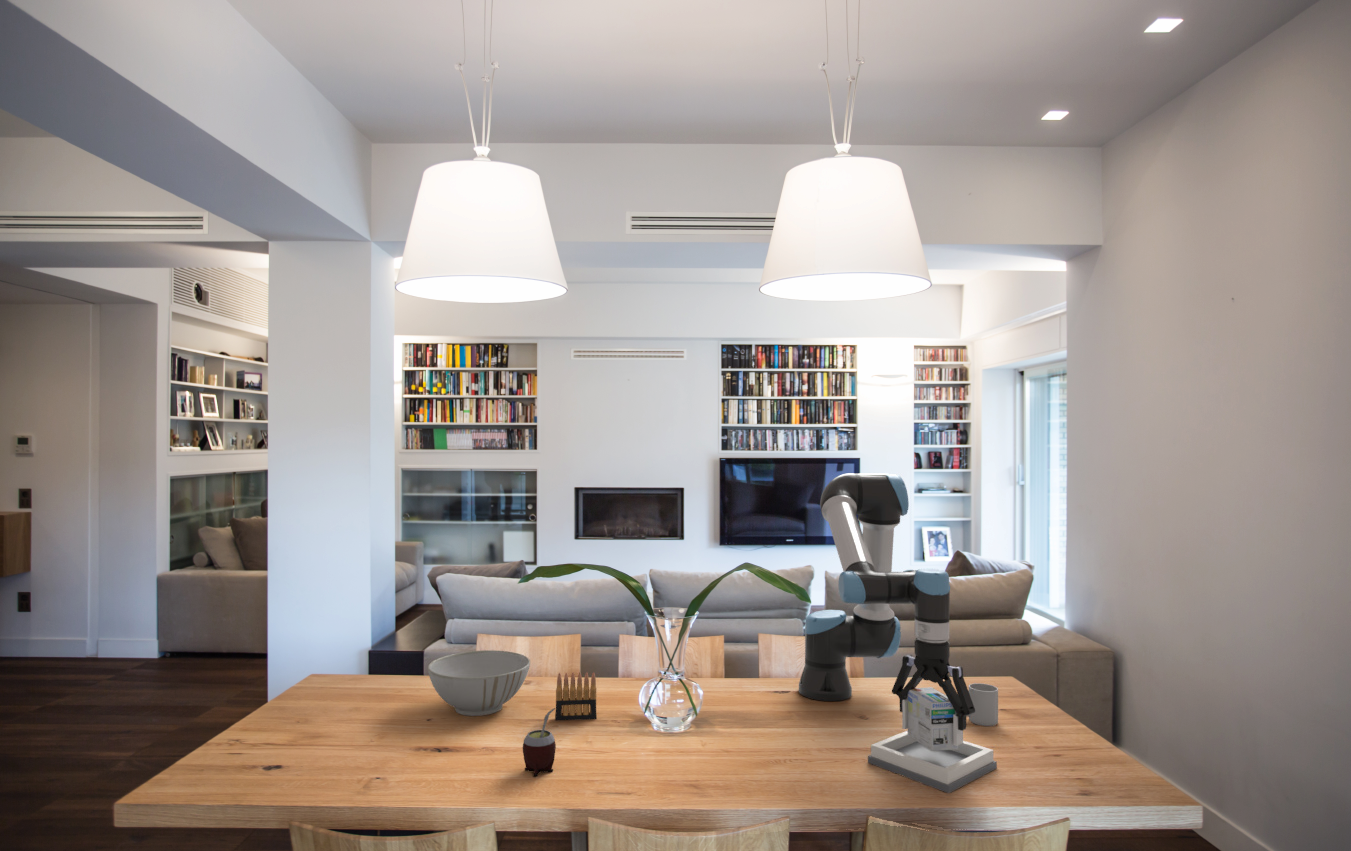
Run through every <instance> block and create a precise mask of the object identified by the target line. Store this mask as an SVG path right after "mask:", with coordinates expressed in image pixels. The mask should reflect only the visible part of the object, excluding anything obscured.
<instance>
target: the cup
mask: <svg viewBox="0 0 1351 851" xmlns="http://www.w3.org/2000/svg"><path fill="white" fill-rule="evenodd" d="M968 691H969V694H970V697H971V700H972V702H973V705H974V708H975V712H974V713H972V714H969V715H967V716H966V718H968V720H969V721H971V722H970V723H972V724H975V725H978V726H981V725H982V726H981V727H994V726H997V725H998V723H999V688H998V687H997V686H994V685H993V684H988V683H982V682H981V683H980V682H979V683H978V682H977V683H976V682H974V683H970V684H968ZM996 724H997V725H996Z"/></svg>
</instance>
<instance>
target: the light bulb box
mask: <svg viewBox="0 0 1351 851" xmlns="http://www.w3.org/2000/svg"><path fill="white" fill-rule="evenodd" d="M954 714H957V713H956V711H955V710H954V708H953V706H952V704H951V703H950V701H949V699H948V697H947V696H946V694H944V693H942V692H941V691H939V690H937V689H935V688H934V687H933V686H928V687H916V688H913V689H910V690H909V692H908V728H907V730H908V735H909V736H911V737H912V738H913V739H915V740H916V741H918V742H919V743H920V744H922V745H923V746H925V747H926V748H927V749H929V750H930V751H943V750H956V749H958V746H955V745H953V715H954Z"/></svg>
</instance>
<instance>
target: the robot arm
mask: <svg viewBox="0 0 1351 851" xmlns="http://www.w3.org/2000/svg"><path fill="white" fill-rule="evenodd" d="M819 505H820V506H819V507H820V511H821V514H822V517H823V519H824V520H825V521H826V522H828V524H829V527H830V532H831V535H832V539H833V541H834V542H833V543H834V545H835V548H836V551H837V556H838V558H839V561H840V564H841V568H842V572H841V573H840V574H839V577H838V592H839V593H838V595H839V598H840V600H841V601H842V602H843V603H845V604H854V605H855V604H856V605H855V606H854V608H853V611H852V615H847V614H846V611H844V610H841V609H823V610H817V611H813V612H811V613H810V614H808V615H807V616H806V618H805V625H804V667H803V670H802V673H801V676H800V680H799V682H798V693H799V694H800V695H802V696H803V697H805V698H807V699H812V700H816V701H825V702H838V701H840V702H841V701H845V700H847V699H850V698H851V697H852V694H853V693H852V692H853V691H852V690H853V688H852V685H851V682H850V679H849V675H848V671H847V667H846V663H847V662H846V659H847V658H871V659H874V658H875V659H876V658H877V659H881V658H891V657H893V656H894V655H895V654H897V652H898V650H899V647H900V643H901V636H902V635H901V622H900V620H899V619H898V617H896V616H895V612H894V610H893V609H892V608H891V607H890V605H914V636H915V637H916V638H915V639H914V655H915V657H913V655H912V654H907V655H904V656H903V657H902V659H901V660H902V661H901V662H902V663H901V667H900V670H899V672H898V674H897V677H896V679H895V681H894V683H893V686H892V689H891V693H892V694H893V695H896V696H897V697H898V698H899V712H900V713H902V714H901V716H902V717H901V721H902V722H901V724H902V725H901V728H902V729H903V730H908V692H909V690H910V689H913V688H917V686H918V685H919V684H920V682H922V680H924V681H930V682H932V683H934V684H938V686H939V687H940V688H941V689H942V690H943V692H944V693H945V695H946V696H947V697H948V699H949V701H950V703H951V704H952V706H953V708H954V710H955V711H956V713H957V714H954V715H953V745H955V746H958V745H960V744H962V743H963V741H964V731H966V730H967V717H966V716H967V715H969V714H972V713H974V712H975V708H974V705H973V702H972V700H971V697H970V694H969V688H968V687H967V683H966V681H965V679H964V668H963V667H962V666H961V665H960V666H957V667H956V666H951V665H950V662H949V660H950V650H951V649H950V644H951V643H950V641H949V639H950V638H951V637H950V633H951V632H950V629H951V628H950V626H951V625H950V602H951V601H950V599H951V598H950V596H951V595H950V593H951V584H950V576H949V573H948V572H947V571H945V570H943V569H938V568H919V569H917V570H916V569H906V570H903V571H892V569H893V555H894V554H893V550H894V535H895V534H894V533H895V528H896V527H897V526H898V525H899V524H901V517H904V516H906V515H907V514H908V510H909V494H908V490H907V486H906V484H905V481H904V479H903V478H902V477H901V476H900V475H899V474H895V473H894V474H893V473H884V472H882V473H878V472H877V473H875V472H874V473H870V472H869V473H851V472H849V473H843V474H841V475H837V476H836V477H834V478H833V479H831V480H830V481H829V482H828V484H827V485H826V486H825V487H824V489H823V490H822V493H821V496H820V502H819ZM860 524H861V525H862V528H861V525H860ZM913 666H915V668H916V671H915V672H914V674H913V675H912V678H910V680H909V681H908V682H907V680H908V678H909V675H910V673H911V670H912V668H913ZM949 674H950V676H951V677H952V679H951V677H950V676H949ZM952 681H953V683H952Z"/></svg>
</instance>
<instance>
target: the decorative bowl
mask: <svg viewBox="0 0 1351 851" xmlns="http://www.w3.org/2000/svg"><path fill="white" fill-rule="evenodd" d="M530 667H531V661H530V659H529V657H527V656H526V655H524V654H521V653H518V652H515V651H514V652H513V651H508V650H494V649H493V650H492V649H491V650H490V649H489V650H488V649H487V650H485V649H484V650H483V649H482V650H472V651H471V650H470V651H461V652H457V653H452V654H451V653H450V654H447V655H444V656H441V657H438V658H436V659H434V660H432V661H431V662H430V663H429V664H428V665H427V672H428V676H429V680H430V682H431V684H432V686H433V688H434V690H435V691H436V694H438V695H439V697H440V699H442V700H443V701H444V702H445V703H447V704H448V705H449V706H451V707H454V709H455V712H456V713H457V714H460V715H462V716H471V717H479V716H487V715H490V714H491V715H492V714H494V713H497V712H499V711H501V710H502V709H503V705H505V704H506V703H507V702H509V701H510V700H511V699H512V698H513V697H514V696H516V694H517V693H518V692H519V691H520V689H521V687H522V686H523V683H524V682H525V680H526V678H527V676H528V673H529V670H530Z"/></svg>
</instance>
